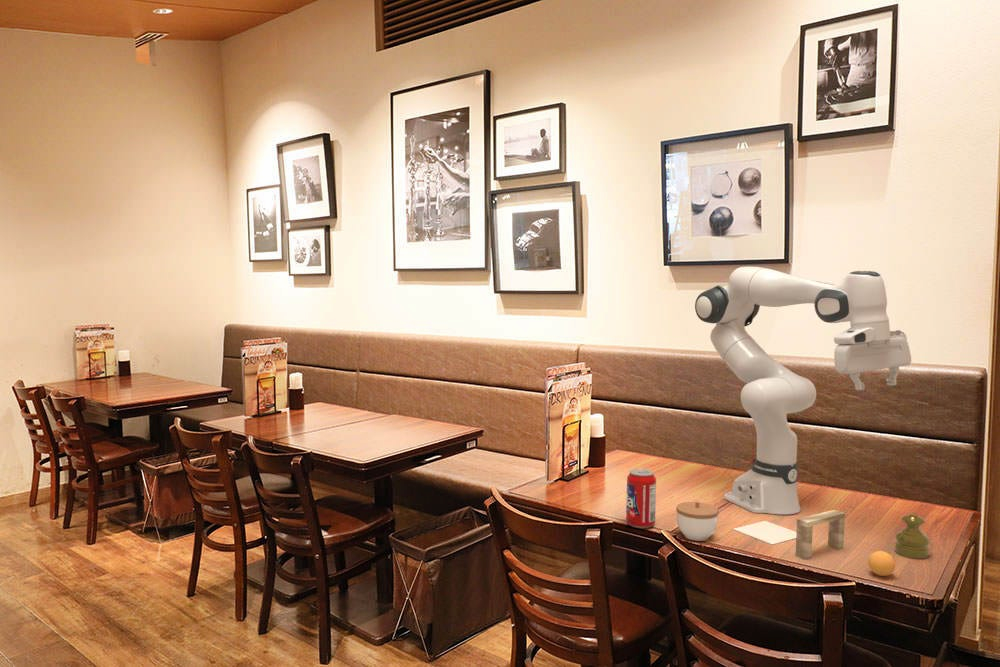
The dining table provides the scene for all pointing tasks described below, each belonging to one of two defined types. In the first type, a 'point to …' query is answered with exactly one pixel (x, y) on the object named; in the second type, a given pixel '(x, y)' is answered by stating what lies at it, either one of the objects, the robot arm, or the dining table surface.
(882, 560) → the ball
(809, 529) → the bridge
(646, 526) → the soda can
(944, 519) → the dining table surface
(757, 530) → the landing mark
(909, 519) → the green tiered figurine
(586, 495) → the dining table surface
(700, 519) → the lidded jar
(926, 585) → the dining table surface
